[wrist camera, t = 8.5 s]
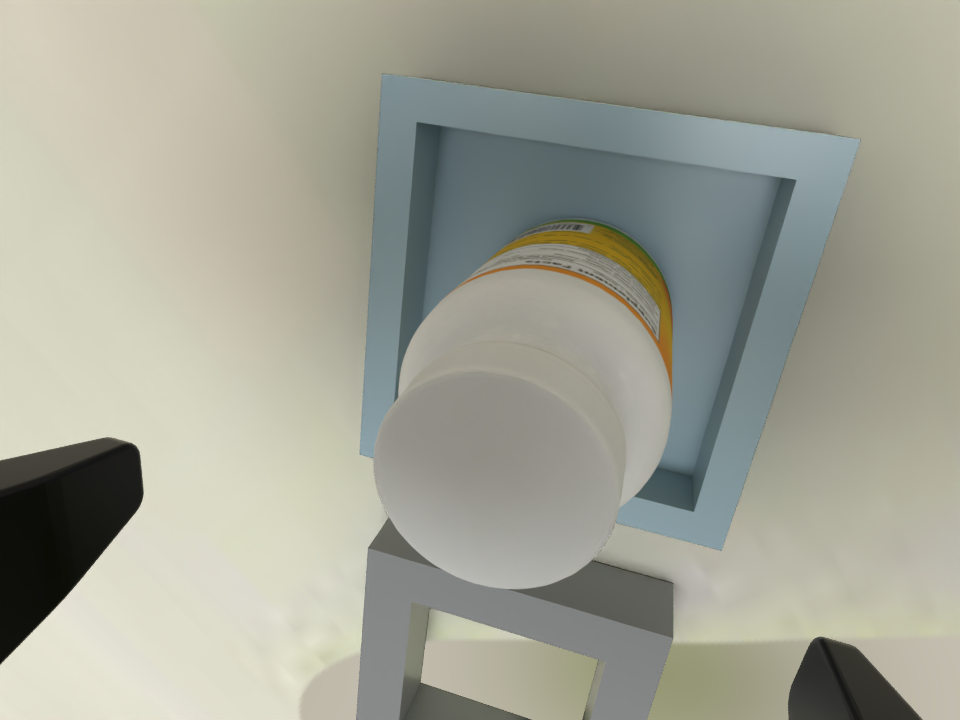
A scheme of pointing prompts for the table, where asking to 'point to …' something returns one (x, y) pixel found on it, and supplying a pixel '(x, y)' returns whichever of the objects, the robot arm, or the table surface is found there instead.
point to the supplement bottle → (531, 407)
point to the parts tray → (635, 210)
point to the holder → (526, 612)
